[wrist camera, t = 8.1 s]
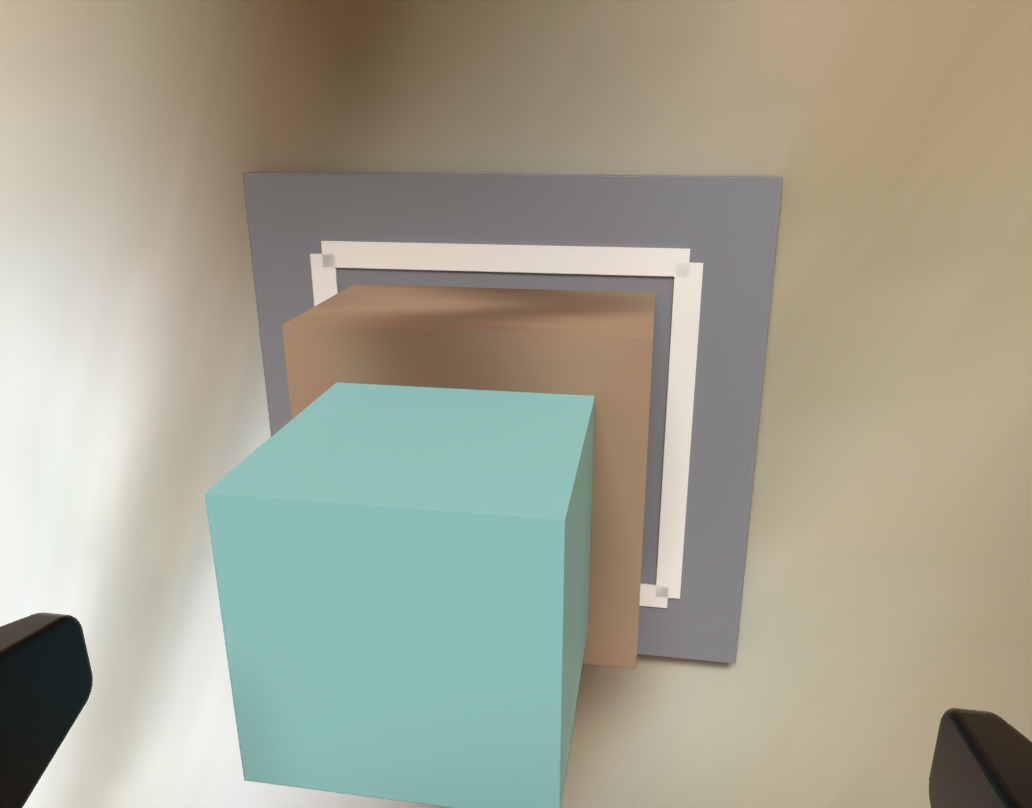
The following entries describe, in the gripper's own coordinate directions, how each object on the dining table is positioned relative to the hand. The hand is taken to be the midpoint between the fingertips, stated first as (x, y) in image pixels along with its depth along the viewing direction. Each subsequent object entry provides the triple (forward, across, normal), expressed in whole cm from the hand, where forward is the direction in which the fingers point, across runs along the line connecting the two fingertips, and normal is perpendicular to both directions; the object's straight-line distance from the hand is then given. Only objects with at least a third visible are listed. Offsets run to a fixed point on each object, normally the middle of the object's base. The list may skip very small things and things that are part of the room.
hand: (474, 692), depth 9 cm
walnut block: (+12, +2, +2) cm, 12 cm away
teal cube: (+8, +2, +2) cm, 8 cm away
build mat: (+12, +2, +2) cm, 12 cm away
